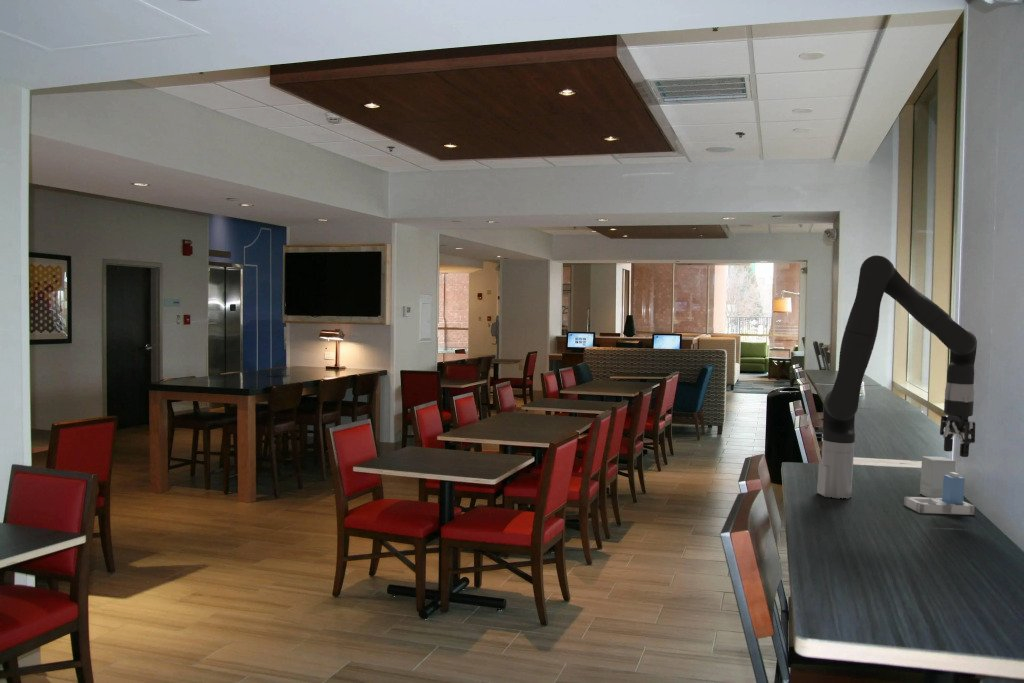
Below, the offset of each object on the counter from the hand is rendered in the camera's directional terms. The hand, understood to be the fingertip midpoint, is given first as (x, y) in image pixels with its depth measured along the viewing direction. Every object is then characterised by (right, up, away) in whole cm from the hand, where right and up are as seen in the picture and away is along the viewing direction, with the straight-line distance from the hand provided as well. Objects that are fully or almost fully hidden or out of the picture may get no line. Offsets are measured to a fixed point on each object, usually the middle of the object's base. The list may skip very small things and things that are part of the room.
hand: (955, 453), depth 246 cm
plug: (-1, -17, +1) cm, 17 cm away
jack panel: (-5, -17, +1) cm, 18 cm away
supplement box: (+4, -17, +19) cm, 25 cm away
